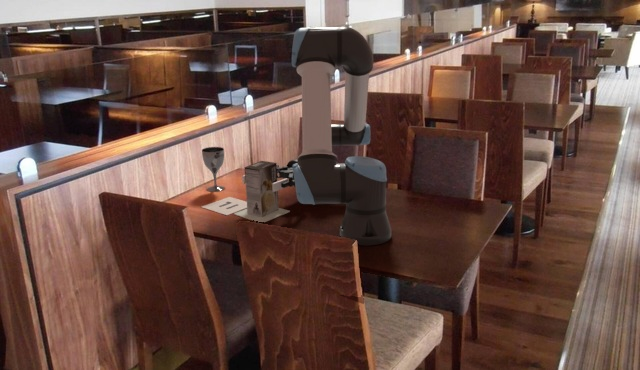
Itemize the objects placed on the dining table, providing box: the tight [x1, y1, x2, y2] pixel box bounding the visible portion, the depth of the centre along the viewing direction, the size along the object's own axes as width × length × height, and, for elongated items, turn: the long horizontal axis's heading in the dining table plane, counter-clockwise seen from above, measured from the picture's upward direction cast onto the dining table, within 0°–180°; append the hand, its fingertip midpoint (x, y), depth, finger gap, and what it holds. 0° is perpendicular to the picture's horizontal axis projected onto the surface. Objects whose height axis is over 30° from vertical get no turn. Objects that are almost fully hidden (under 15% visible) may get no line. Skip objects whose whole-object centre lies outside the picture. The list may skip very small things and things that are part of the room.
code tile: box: [201, 196, 247, 216], centre depth 202 cm, size 13×13×1 cm
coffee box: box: [244, 160, 280, 217], centre depth 193 cm, size 9×6×16 cm
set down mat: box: [233, 207, 291, 223], centre depth 195 cm, size 13×13×1 cm
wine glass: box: [201, 146, 226, 193], centre depth 218 cm, size 8×8×15 cm
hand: (257, 183), depth 191 cm, fingers open, 13 cm apart
